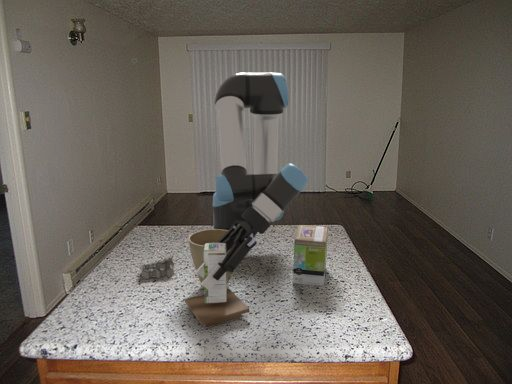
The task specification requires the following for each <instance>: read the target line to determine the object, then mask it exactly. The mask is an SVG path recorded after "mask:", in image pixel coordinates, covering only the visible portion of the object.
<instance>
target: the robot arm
mask: <svg viewBox="0 0 512 384" xmlns="http://www.w3.org/2000/svg"><path fill="white" fill-rule="evenodd" d="M289 95H290V94H289V87H288V82H287V79H286V77H285V75H284V74H283V73H281V72H271V71H270V72H269V71H268V72H245V71H244V72H237V73H233V74H231V75H230V76H228V77H227V78H226V79H225V80H224V81H222V83H221V85H220V86H219V87H218V89H217V92H216V94H215V98H214V109H215V112H216V113H217V116H218V131H219V135H218V136H219V152H220V156H219V157H220V170H221V171H220V172H221V174H218V175H216V176H215V178H214V180H215V181H214V182H215V187H214V188H215V192H214V193H213V195H212V204H211V205H212V210H213V211H212V212H213V215H212V217H213V229H221V230H228V231H227V232H226V233H225V234H224V235H223V236H222V238H221V239H220V240H219V241H218V242H217V243H225V244H226V252H227V251H228V250H229V249H230V251H229V252H228V254H227V255H226V257H225V258H224V260H223V261H222V263H220V262H219V263H218V265H217V266H216V267H215V268H214V269H213V271H212V272H211V273H210V274H209V275H208V276H207V277H206V278H205V280H204V281H203V282H202V283H201V282H200V284H201V287H202V286H204V287H205V288H206V289H208V290H209V291H210V289H211V288H212V287H213V286H214V285H215V284H216V283H217V282H218V280H219V279H220V278H221V277H222V276H223V275H224V274H225V272H226V271H227V272H228V271H230V272H231V274H232V273H233V272H234V271H235V270H236V269H237V267H238V266H239V265H240V264H241V262H242V261H243V260H244V258H245V257H246V256H247V255H248V254H249V252H250V251H251V250H252V249H253V248H254V247H256V245H258V242H257V241H256V239H255V237H256V235H257V234H258V233H259V234H260V235H264V234H265V232H266V231H268V229H269V228H270V227H271V222H272V223H274V222H275V221H280V220H281V218H282V217H283V216H284V213H285V209H286V208H288V206H289V205H290V204H291V202H293V201H294V199H296V197H298V195H299V194H300V193H301V192H302V191H303V190H304V188H305V187H306V186H307V184H308V183H309V177H308V176H307V174H305V172H303V170H302V169H300V167H298V166H296V165H295V164H294V163H287V164H285V166H284V167H283V168H282V169H280V171H279V172H278V163H279V161H278V157H279V155H278V154H279V153H278V152H279V121H280V120H279V119H280V117H281V116H282V115H283V114H284V109H287V108H288V107H289V102H290V97H289ZM245 109H249V114H250V115H251V116H252V117H253V118H254V119H253V121H254V122H253V125H254V126H253V127H254V128H253V129H254V130H253V131H254V132H253V137H254V138H253V140H254V141H253V173H252V174H249V173H248V169H247V158H246V146H245V136H244V133H245V132H244V124H243V123H244V122H243V112H244V110H245ZM195 274H196V275H197V274H198V275H200V276H201V277H202V278H204V263H203V264H202V265H201V266H200V267H199V269H198V270H197V271H196V270H195ZM198 275H197V276H198Z"/></svg>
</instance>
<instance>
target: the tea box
mask: <svg viewBox="0 0 512 384" xmlns="http://www.w3.org/2000/svg"><path fill="white" fill-rule="evenodd" d="M328 229H329V228H328V227H327V226H317V225H305V224H304V225H302V224H299V225H298V227H297V230H296V234H295V237H294V242H293V243H294V245H293V264H292V265H293V266H292V267H293V270H292V284H297V285H306V286H307V285H308V286H318V287H324V284H325V279H326V278H325V277H326V267H327V266H326V265H327V251H328Z"/></svg>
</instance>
